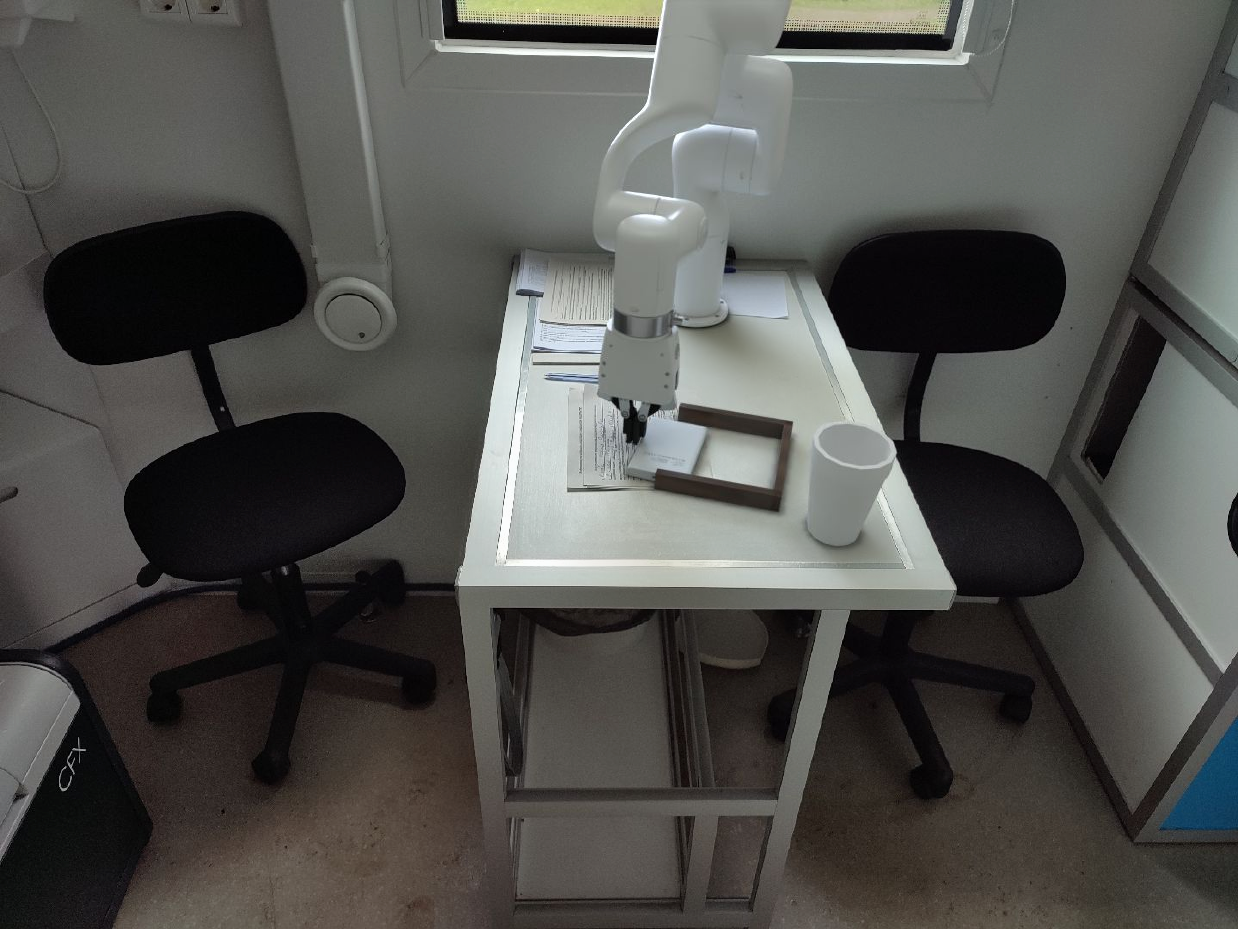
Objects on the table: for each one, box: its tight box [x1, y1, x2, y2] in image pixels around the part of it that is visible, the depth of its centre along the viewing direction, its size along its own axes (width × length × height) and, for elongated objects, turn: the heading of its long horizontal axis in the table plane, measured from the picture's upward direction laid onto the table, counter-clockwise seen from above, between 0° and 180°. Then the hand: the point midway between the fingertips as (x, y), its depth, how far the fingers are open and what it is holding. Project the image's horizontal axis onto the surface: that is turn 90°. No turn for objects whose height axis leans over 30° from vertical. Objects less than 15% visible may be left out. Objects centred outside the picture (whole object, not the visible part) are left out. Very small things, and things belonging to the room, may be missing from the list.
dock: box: [653, 402, 794, 512], centre depth 116 cm, size 17×16×2 cm
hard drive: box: [626, 416, 708, 482], centre depth 117 cm, size 2×8×12 cm
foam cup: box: [806, 420, 898, 547], centre depth 102 cm, size 10×9×13 cm
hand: (634, 438), depth 117 cm, fingers closed
